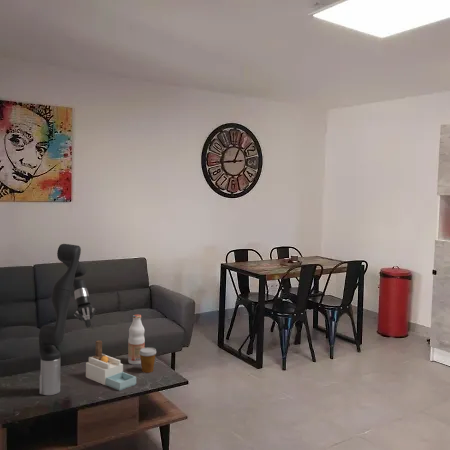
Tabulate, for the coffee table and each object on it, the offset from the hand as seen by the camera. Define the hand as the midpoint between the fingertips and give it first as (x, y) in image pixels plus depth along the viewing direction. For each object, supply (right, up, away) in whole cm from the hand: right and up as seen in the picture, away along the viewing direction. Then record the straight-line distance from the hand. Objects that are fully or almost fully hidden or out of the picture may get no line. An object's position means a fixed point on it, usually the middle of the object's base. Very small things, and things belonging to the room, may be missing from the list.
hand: (88, 327), depth 273 cm
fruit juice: (+23, -25, +18) cm, 38 cm away
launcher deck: (+10, -26, -7) cm, 29 cm away
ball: (+11, -16, -8) cm, 21 cm away
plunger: (+7, -18, -5) cm, 20 cm away
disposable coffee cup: (+32, -26, +5) cm, 41 cm away
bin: (+21, -27, -15) cm, 38 cm away
